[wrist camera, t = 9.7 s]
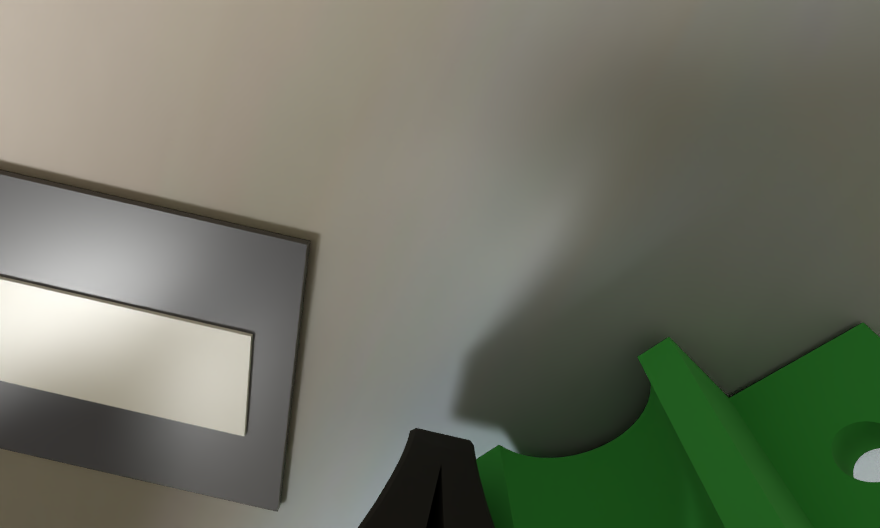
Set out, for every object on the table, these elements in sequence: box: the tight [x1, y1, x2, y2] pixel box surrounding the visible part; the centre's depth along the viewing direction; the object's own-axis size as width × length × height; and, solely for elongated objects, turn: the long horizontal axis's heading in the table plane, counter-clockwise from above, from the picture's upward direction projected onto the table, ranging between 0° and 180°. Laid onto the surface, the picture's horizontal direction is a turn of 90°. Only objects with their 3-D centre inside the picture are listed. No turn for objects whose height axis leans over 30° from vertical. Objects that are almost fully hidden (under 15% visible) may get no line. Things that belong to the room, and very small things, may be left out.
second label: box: [0, 170, 310, 511], centre depth 13 cm, size 9×8×1 cm
